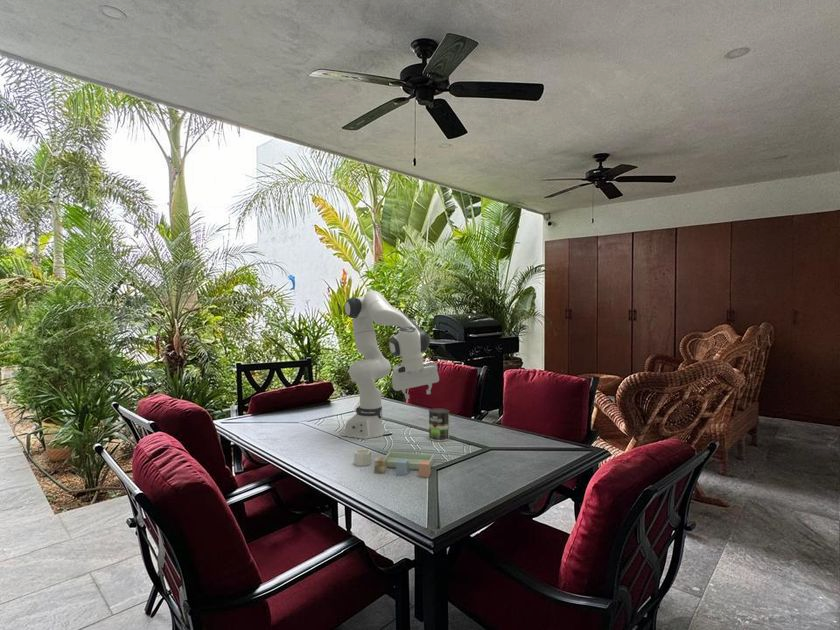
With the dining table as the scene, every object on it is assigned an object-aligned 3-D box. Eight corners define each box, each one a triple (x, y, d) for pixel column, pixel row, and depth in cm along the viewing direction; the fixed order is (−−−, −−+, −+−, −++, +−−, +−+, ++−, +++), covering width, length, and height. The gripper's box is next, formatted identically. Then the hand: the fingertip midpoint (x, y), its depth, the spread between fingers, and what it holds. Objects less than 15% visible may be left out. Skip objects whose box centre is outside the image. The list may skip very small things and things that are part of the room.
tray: (381, 467, 180) (381, 461, 180) (389, 457, 191) (389, 451, 191) (429, 471, 176) (429, 464, 175) (434, 460, 187) (434, 454, 187)
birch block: (374, 472, 174) (374, 460, 174) (377, 469, 178) (377, 457, 178) (384, 473, 173) (384, 461, 173) (386, 470, 177) (386, 457, 177)
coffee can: (444, 442, 212) (444, 413, 212) (425, 439, 217) (425, 411, 217) (452, 437, 221) (452, 409, 221) (434, 434, 226) (434, 407, 226)
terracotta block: (418, 476, 170) (418, 463, 170) (420, 472, 174) (420, 460, 174) (428, 477, 169) (428, 464, 169) (430, 473, 173) (430, 461, 173)
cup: (352, 465, 182) (352, 453, 182) (358, 459, 188) (358, 448, 188) (367, 466, 180) (367, 454, 180) (372, 461, 187) (372, 449, 187)
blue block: (396, 474, 172) (396, 462, 172) (398, 470, 176) (398, 458, 176) (406, 475, 171) (406, 462, 171) (408, 471, 175) (408, 459, 175)
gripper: (434, 359, 192) (439, 389, 193) (389, 368, 187) (394, 399, 188) (438, 361, 185) (443, 392, 187) (391, 370, 181) (397, 403, 182)
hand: (418, 396), depth 187 cm, fingers open, 8 cm apart
